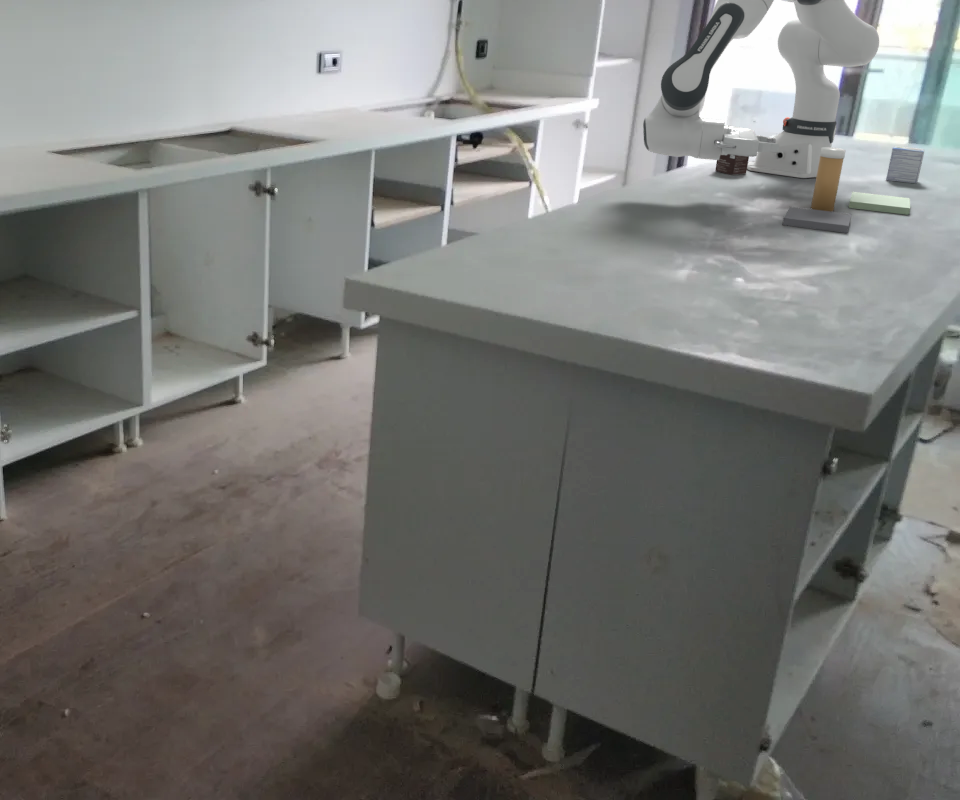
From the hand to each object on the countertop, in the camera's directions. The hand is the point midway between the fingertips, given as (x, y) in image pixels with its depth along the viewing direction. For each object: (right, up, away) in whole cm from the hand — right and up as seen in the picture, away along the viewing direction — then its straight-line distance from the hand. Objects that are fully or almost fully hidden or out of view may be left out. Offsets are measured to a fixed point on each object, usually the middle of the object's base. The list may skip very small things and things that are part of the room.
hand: (777, 145), depth 217 cm
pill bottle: (+11, -14, +4) cm, 18 cm away
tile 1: (+5, -19, -10) cm, 22 cm away
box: (+1, +4, +43) cm, 43 cm away
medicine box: (+47, +2, +44) cm, 64 cm away
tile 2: (+27, -12, +10) cm, 31 cm away
